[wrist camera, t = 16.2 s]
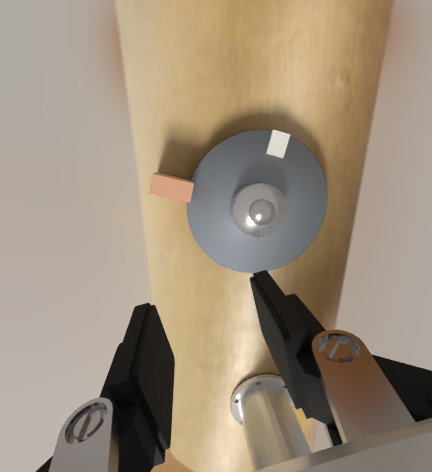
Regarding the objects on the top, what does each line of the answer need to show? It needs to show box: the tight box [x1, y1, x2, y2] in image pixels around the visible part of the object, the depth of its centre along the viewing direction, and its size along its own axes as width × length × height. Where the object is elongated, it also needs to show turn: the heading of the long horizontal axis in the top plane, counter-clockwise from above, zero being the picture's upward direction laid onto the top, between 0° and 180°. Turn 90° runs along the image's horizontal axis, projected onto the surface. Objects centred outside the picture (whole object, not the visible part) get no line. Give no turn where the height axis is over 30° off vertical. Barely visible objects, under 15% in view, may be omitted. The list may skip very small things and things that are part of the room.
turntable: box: [149, 130, 327, 273], centre depth 34 cm, size 25×20×4 cm
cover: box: [230, 182, 287, 238], centre depth 33 cm, size 7×7×4 cm
